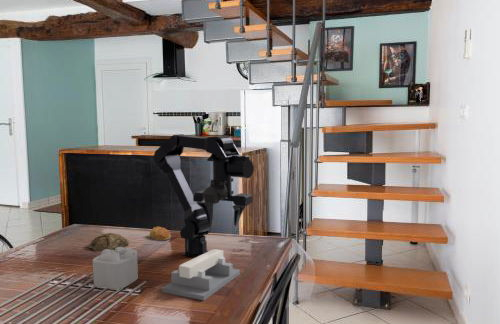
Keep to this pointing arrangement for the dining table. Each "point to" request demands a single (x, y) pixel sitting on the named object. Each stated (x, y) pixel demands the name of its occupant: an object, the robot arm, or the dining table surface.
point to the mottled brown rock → (108, 242)
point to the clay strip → (200, 263)
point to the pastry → (160, 233)
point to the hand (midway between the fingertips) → (223, 224)
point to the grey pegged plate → (202, 281)
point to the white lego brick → (115, 268)
